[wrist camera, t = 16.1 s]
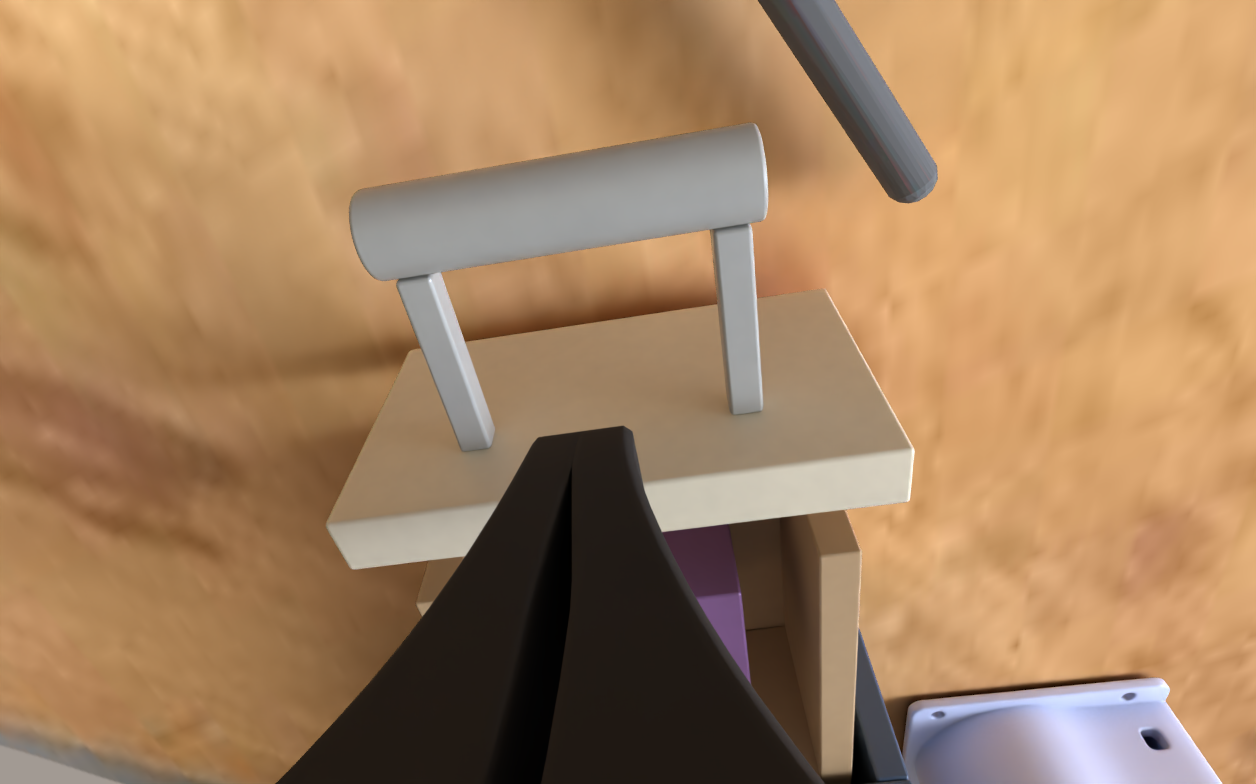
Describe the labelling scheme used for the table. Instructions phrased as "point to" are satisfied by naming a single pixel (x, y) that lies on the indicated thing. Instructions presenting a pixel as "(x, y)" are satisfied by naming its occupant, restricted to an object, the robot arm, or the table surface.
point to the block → (714, 582)
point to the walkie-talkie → (856, 94)
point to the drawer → (638, 400)
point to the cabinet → (873, 731)
